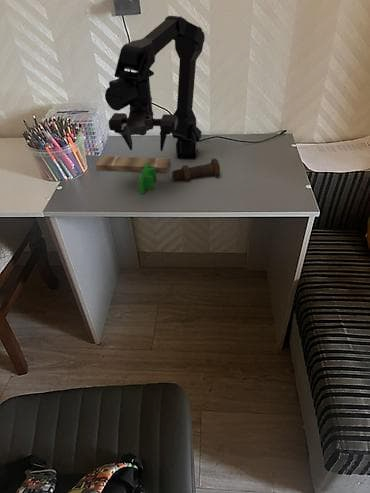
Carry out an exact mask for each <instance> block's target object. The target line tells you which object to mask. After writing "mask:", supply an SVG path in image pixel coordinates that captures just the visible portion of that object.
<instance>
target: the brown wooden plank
mask: <svg viewBox="0 0 370 493" xmlns="http://www.w3.org/2000/svg"><path fill="white" fill-rule="evenodd" d="M146 163H149V165H150V168H156V174H168V172H169V169H170V166H171V158H163V157H162V158H160V157H136V156H135V157H133V156H130V157H129V156H110V155H109V156H108V155H107V156H106V155H105V156H104V155H101V156H100V158H99V159H98V161H97V163H96V165H95V167H96V170H97V171H105V172H107V171H108V172H129V173H133V172H135V173H142V172H143V169H144V167H145V164H146Z"/></svg>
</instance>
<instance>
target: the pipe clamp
mask: <svg viewBox="0 0 370 493" xmlns="http://www.w3.org/2000/svg"><path fill="white" fill-rule="evenodd" d="M157 180H158V179H157V173H156V168H150V165H149V163H146V164H145V167H144V169H143V172H141V175H140V178H139V179H138V186H139V187H138V188H139V194H140V195H145V193H146V192H145V191H146V190H154V189H155V183H154V182H157Z"/></svg>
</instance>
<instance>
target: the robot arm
mask: <svg viewBox="0 0 370 493" xmlns="http://www.w3.org/2000/svg"><path fill="white" fill-rule="evenodd" d="M205 40H206V39H205V32H204V31H203V29H202V27H201V26H197V25H195V24H193V23H191V22H189V21H188V20H187V19H185V18H184V17H183V16H179V15H168V16H166V17H165V19H164V21H162V22H161V23H159V25H157V26H156V27H155V28H153V29H152V30H151V31H150V32H149V33H148V34H146V35H145V36H144V37H143V38H141V39H135V40H131V41H130V42H127V43H125V44H124V45H123V46H122V47H121V49H120V52H119V57H118V59H117V63H116V66H115V72H114V77H115V78H117V79H114V80H110V81H108V86H109V87H107V88H106V90H105V94H104V98H105V101H106V103H107V105H108V106H109V108H111V109H112V110H113V111H116V112H115V113H113V114H112V116H111V117H110V119H109V120H108V128H109V131H113V132H114V133H116V134H119V135H120V136H122V138H123V140H124V141H125V143H126V145H127V147H128V149H129V150H130V151H133V141H132V140H133V139H132V136H135V135H136V136H145V135H146V134H147V132H149V131H150V130H154V127H159V129H160V131H159V137H160V138H159V139H160V143H159V147H160V152H163V150H164V147H165V142H166V140H167V139H166V138H167V135H171V136H172V138H173V139H177V140H176V142H175V150H176V151H175V152H176V153H175V154H176V155H177V156H176V157H177V159H184V160H185V159H187V160H189V159H190V160H195V159H196V158H197V153H198V148H197V146H198V144H197V143H198V142H200V140H201V139H202V132H203V131H202V130H201V129H200V128H199V127H198V126H197V117H196V116H195V113H194V110H193V104H194V94H195V93H194V91H195V79H196V77H195V76H196V64H197V60H198V58H199V56H200V55H201V54H202V51H203V49H204V43H205ZM172 41H174V50H175V51H176V54H177V56H178V58H179V66H178V67H179V68H178V69H179V70H178V84H177V99H176V100H177V101H176V103H177V104H176V110H175V111H174V113H173V114H167V113H165V114H162V117H161V118H154V111H153V102H152V101H153V97H152V92H151V84H150V82H151V81H150V77H152V76H154V75H155V72H154V71H152V70H151V68H152V66H153V65H154V64H155V62H156V57H157V54H158V53H160V51H161V50H163V49H164V48H165V47H166V46H167V45H169V44H170V43H171V42H172ZM128 106H129V112H128V114H127V113H126V112H125V113H124V112H123V113H121V112H118V111H121V110H123V109H125V108H126V107H128Z"/></svg>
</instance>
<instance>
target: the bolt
mask: <svg viewBox="0 0 370 493" xmlns="http://www.w3.org/2000/svg"><path fill="white" fill-rule="evenodd" d="M212 174H214V175H213V176H214V177H215V176H216V177H219V176H220V174H221V166H220V162H219V160H218V159H217V158H215V157H214V158H211V160H210V163H206V164H200V165H195V166H191V167H189V165H187V164H184V165H182V166H181V168H180V169H174V170H172V171H171V177H172V180H173V181H178V180H184V181H185V182H188V181H190V180H191V178H195V177H200V176H205V175H212Z"/></svg>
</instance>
